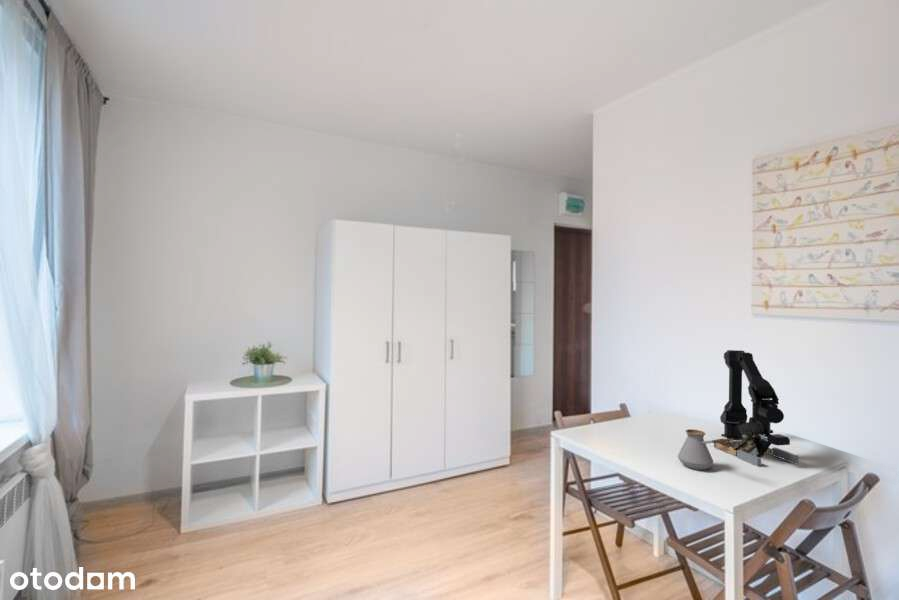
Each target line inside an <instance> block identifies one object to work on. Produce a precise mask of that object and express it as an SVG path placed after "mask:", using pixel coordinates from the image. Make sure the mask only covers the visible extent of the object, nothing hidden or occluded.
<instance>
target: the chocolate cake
mask: <svg viewBox="0 0 899 600" xmlns="http://www.w3.org/2000/svg"><path fill="white" fill-rule="evenodd" d="M740 441H741V442H739V443H738V444H737V445H735V446H734V447H731V449H734V450H736V451H737V450H742V451H744V452H747V453H749V454H752V455H754V456H757V457H759V456H760V455H759V453H758V451H757V448H756V446H755V443H754V441H753V440H752V439H751V438H749V437H747V436H745V437H744V439H741V440H740Z"/></svg>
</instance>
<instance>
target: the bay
mask: <svg viewBox="0 0 899 600" xmlns="http://www.w3.org/2000/svg"><path fill="white" fill-rule="evenodd" d="M772 455H773V456H774V455H775V456H774V457H776V456H778V457H777V458H779V457H781V458H784V459H786V460H785V461H787V460H789V461H791V462H790V463H792V462H793V463H792V464H794V463H797V464H799V455H798V454H795V453H791V452H790V451H787V450H785V449H781V448H778V447H777V446H774V447H772ZM757 456H758V455H757ZM757 456H754V455H752V454H749V453H747V452H744V451H742V450H737V457H736V458H737V459H738V460H739V459H740V460H741V461H744V462H746V463H748V464H751V465H753V466H755V465H756V467H757V466H759V467H762V457H759V456H758V457H757ZM781 458H780V459H781ZM784 459H783V460H784ZM789 461H788V462H789Z"/></svg>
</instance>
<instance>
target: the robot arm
mask: <svg viewBox="0 0 899 600" xmlns="http://www.w3.org/2000/svg"><path fill="white" fill-rule="evenodd" d="M723 359H724V362H725V365H726V366H727V368H728V370H729V371H728V401H727V403H726V404H725V405H724V407H723V411H722V413H721V414H720V416H719V418H720V422H721V423H722V424H723V425H724V428H723V429H724V432H723V433H721V436H723V437H724V436H725V438H726V439H727V438H729V439H731V438H733V439H735V440H734V441H738V440H743V439H744V438H745V437H749V438H751V439H752V440H753V441H754V443H755V446H756V448H757V451H758V453H759V455H758V456H761V457H764V456H765V454H766V451H767V449H768V448H770V446H771V445H775V446H790V444H791V441H790V438H789V437H788V436H786V435H783V434H780V433H776V434H774V430H773V429H771V424H779V423H782V422H783V420H784V418H785V415H784V413H783V411H782V410H781V409H780V408H779V406H778V405H779V404H780V402H779V400H780V399H779V397H778V396H777V393H776V391H775V388H774V387H773V386H772V384H771V383H770V382H769V380H768V379H767V380H766V379H765V378H763V376H762V374H761V372H760V370H759V368H758V366H757V365H756V363H755V360H754V356H753V354H752V353H751V352H745V351H744V350H735V349H734V350H733V349H728V350H726V351H725V352H724V353H723ZM743 372H744V374H745V376H746V379H747V381H748V387H747V390H748V395H749V396H750V398H751V399H750V402H752V403H751V405H752V406H751V407H752V415H751V416H749V418H748V414H747V408H746V407H745V406H744V405H743V403H742V402H743V401H742V399H743V397H742V396H743V395H742V394H743ZM747 420H748V421H747ZM743 435H744V436H745V437H744V436H743Z"/></svg>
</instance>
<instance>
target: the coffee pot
mask: <svg viewBox="0 0 899 600" xmlns="http://www.w3.org/2000/svg"><path fill="white" fill-rule="evenodd" d="M685 433H686V435H687V436H686V438H685V440H684V443H683V444H682V447H681V448H680V450H679V452H678V454H677V458H678V460H679V461H680V463H682V464H683V466H684V467H686V468H689V469H692V470H696V471H705V470H708V469H710V467H712V466H713V464H714V460H713V457H712V454H711V453H710V451H709V448H708V446H707V444H712V443H713V444H714V443H723V442H730V441H736V444H737V441H738V440H735V439H733V438H731V439H730V438H727V437H726V438H718V439H713V440H712V439H711V440H705V439H704V436H705V435H706V432H705V431H702V430H698V429H691V428H689V429H686V430H685ZM732 444H733V443H732ZM736 444H734V445H736Z"/></svg>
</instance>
